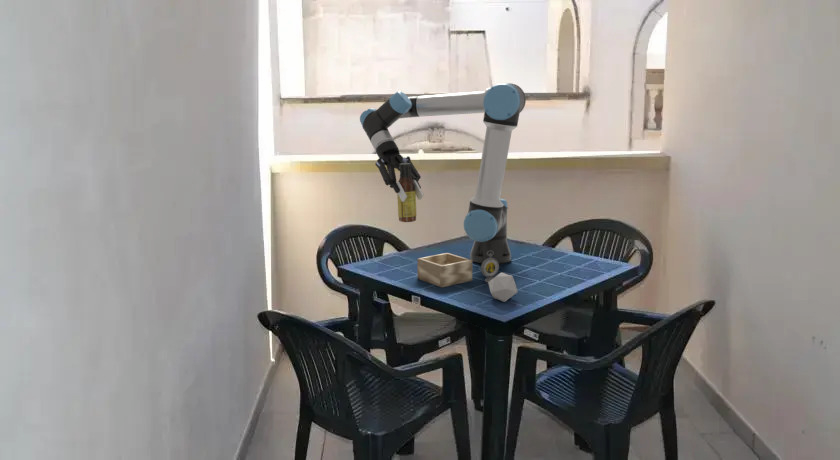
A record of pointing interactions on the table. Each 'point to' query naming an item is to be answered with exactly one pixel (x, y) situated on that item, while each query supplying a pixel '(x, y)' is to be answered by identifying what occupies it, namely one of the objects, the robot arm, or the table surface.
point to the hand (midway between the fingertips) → (412, 198)
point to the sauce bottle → (409, 205)
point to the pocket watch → (489, 264)
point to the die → (502, 287)
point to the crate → (444, 269)
